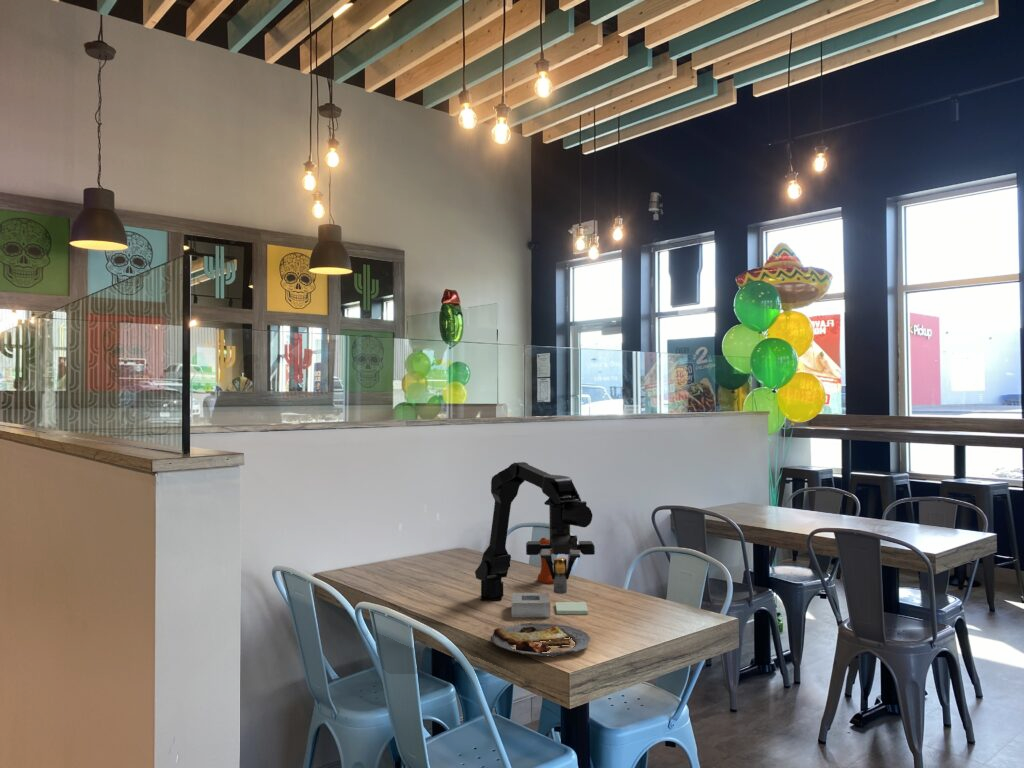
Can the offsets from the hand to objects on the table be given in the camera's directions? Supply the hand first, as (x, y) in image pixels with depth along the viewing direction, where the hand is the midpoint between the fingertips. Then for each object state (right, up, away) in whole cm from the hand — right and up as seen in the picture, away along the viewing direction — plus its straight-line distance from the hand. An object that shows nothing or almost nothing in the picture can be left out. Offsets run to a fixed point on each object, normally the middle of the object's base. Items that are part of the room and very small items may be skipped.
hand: (560, 579), depth 214 cm
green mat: (+4, -12, +13) cm, 18 cm away
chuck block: (-8, -12, +11) cm, 18 cm away
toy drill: (+1, -13, +43) cm, 45 cm away
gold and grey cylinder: (0, -4, 0) cm, 4 cm away
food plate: (-6, -13, -18) cm, 23 cm away
